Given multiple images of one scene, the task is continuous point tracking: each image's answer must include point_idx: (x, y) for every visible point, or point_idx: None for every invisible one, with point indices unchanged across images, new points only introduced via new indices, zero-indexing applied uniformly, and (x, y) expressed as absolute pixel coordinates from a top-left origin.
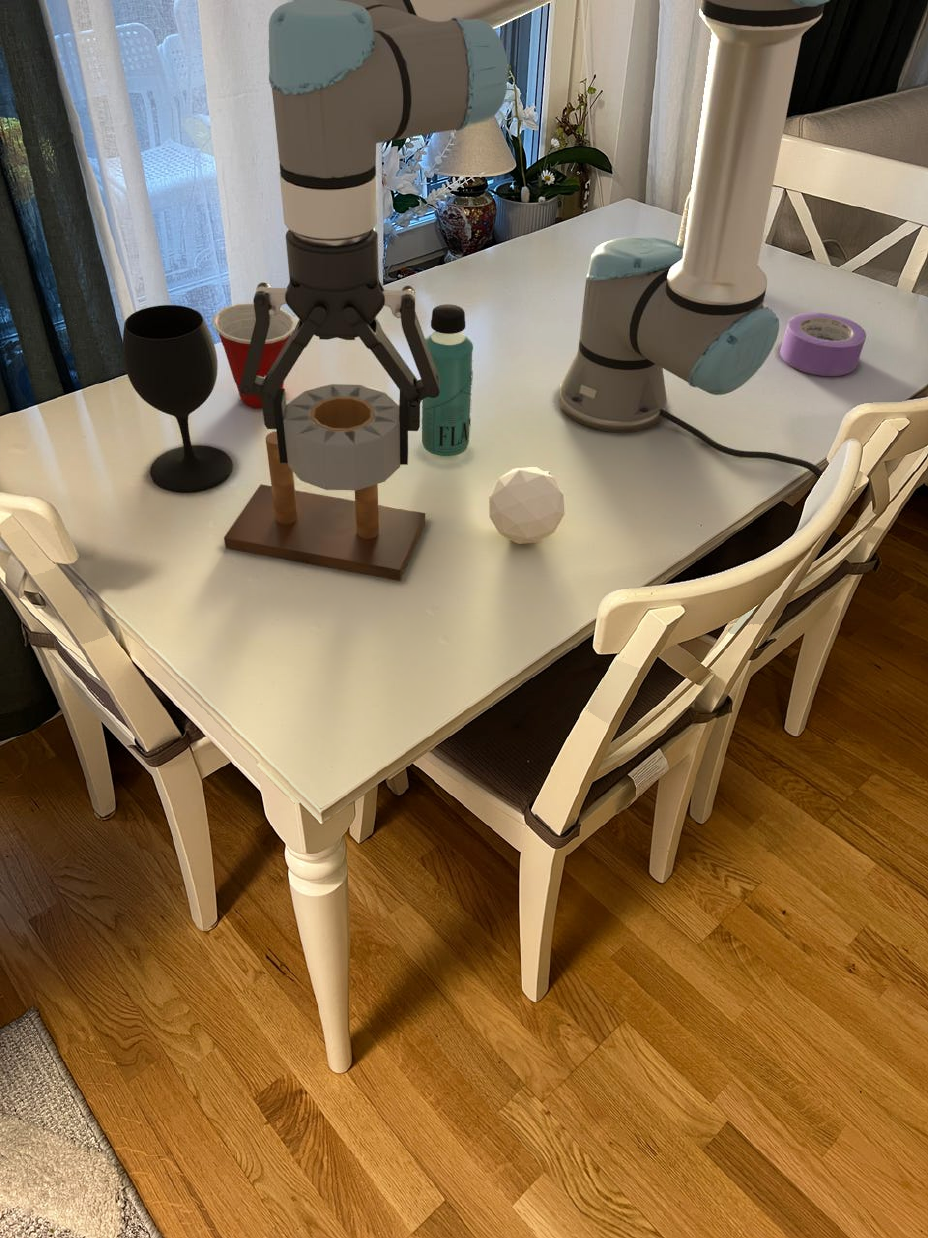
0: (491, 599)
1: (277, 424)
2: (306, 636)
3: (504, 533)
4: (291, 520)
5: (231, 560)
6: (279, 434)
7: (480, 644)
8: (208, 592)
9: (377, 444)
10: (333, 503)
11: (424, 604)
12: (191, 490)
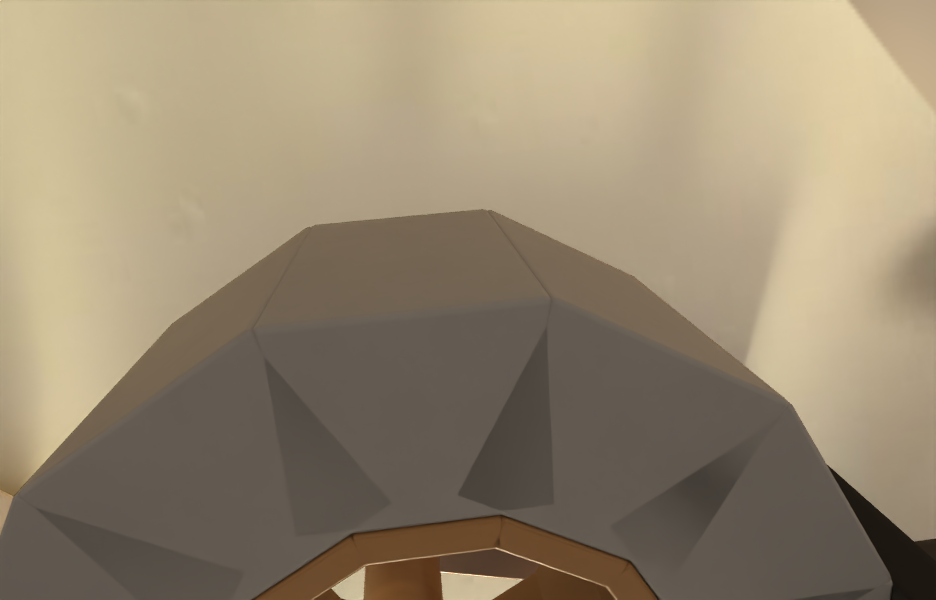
0: (32, 278)
1: (913, 551)
2: (502, 84)
3: (11, 498)
4: None
5: (722, 342)
6: (851, 503)
7: (23, 95)
8: (763, 223)
9: (87, 430)
10: (505, 555)
11: (213, 238)
12: None
